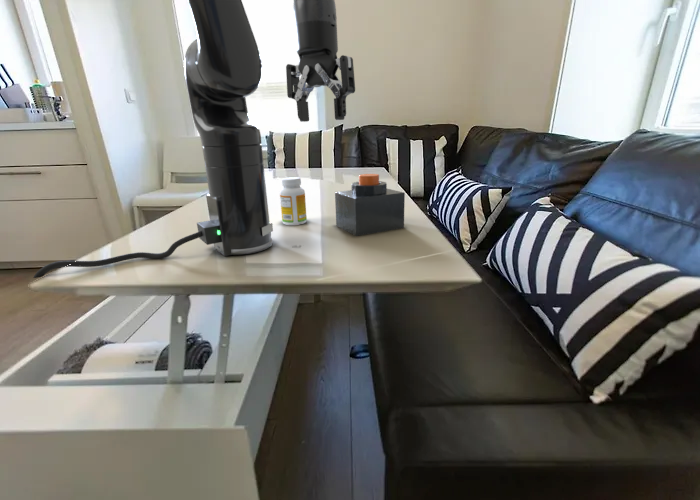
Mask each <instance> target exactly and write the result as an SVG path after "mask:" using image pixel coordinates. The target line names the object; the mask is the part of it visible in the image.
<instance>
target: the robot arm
mask: <svg viewBox="0 0 700 500" xmlns="http://www.w3.org/2000/svg"><path fill="white" fill-rule="evenodd" d="M187 2H188V5H189V9H190V12H191V15H192V20H193V23H194V26H195V31H196V37H197V38H196V39H195V40H193V41H192V42H191V43H190V44H189V45H188V47H187V49H186V51H185V55H184V60H183V62H184V66H183V67H184V77H185V82H186V83H185V84H186V89H187V94H188V98H189V105H190V109H191V114H192V120H193V124H194V127H195V128H196V131H197V132H198V134H199V137H200V144H201V146H202V147H201V148H202V154H203V155H202V156H203V162H204V168H205V174H206V180H207V187H208V193H207V194H206V195H205V198H206V204H207V211H208V216H209V220H204V221H199V222H196V227H197V232H195V233H192V234H189V235H186V236H184V237H181V238H179V239H177V240H175V242H173V243H172V244H171V245H170V246H169V248H168V249H167V250H166V251H163V252H159V253H155V252H147V251H145V252H143V251H142V252H140V251H139V252H131V253H126V254H121V255H117V256H112V257H107V258H104V259H103V258H102V259H98V260H59V261H54V262H50V263H48V264H46V265H43V267H41V268H40V269H39V270H37V271H36V273H35V274H34V275H33V279H37V278H42V277H44V276H45V275H46V274H47V273H49V272H50V271H52V270H55V269H58V268H67V267H68V268H72V267H73V268H75V267H76V268H94V267H96V268H97V267H102V266H107V265H111V264H116V263H120V262H125V261H128V260H135V259H152V260H160V259H165V258H168V257H170V256H171V255H172V254H173V253H174V252H175V251H176V250H177V248H179V247H180V246H182V245H184V244H186V243H189V242H191V241H194V240H197V239H200V240H201V241H202V242H203V243H204V244H205V245H207V246H209V245H213V248H214V249H215V250H217V252H218V253H220V254H221V255H222V256H224V257H228V256H234V255H236V256H237V255H238V256H240V255H249V254H255V253H259V252H262V251H264V250H267V249H269V248H270V247H271V246H273V237H272V232H273V231H274V226H273V222H270V214H269V204H268V203H269V202H268V193H267V183H266V175H265V165H264V156H263V155H264V153H263V146H262V143H263V142H262V135H261V129H260V128H259V126H258V125H257V124H255V123H254V122H253V120H252V119H251V117H250V114H249V111H248V104H247V99H246V97H248V96H251V95H252V94H254V93H255V92H256V91H257V90H258V88H259V86H260V84H261V82H262V77H263V64H262V63H263V62H262V57H261V53H260V49H259V46H258V43H257V40H256V37H255V34H254V31H253V29H252V27H251V23H250V21H249V17H248V15H247V12H246V9H245V6H244V3H243V0H187ZM292 7H293V23H294V32H295V33H294V34H295V36H294V37H295V46H296V47H295V48H296V52H297V55H298V57H299V60H298V64H291V63H287V64H286V66H285V73H286V94H287V98H289V99H292V100H294V101H295V102H296V108H297V109H296V110H297V118H298V120H299V122H303V123H307V122H309V121H310V113H309V112H310V111H309V101H308V98H309V96H310V94H311V93H312V92H314V89H315V88H321V87H327V88H328V89H330V91H331V92H332V94H333V95H334V98H333V109H334V119H335V120H336V121H343V120H345V117H346V116H347V101H346V100H347V97H348V96H349V95H351V94H354V93H355V92H356V82H355V81H356V80H355V67H354V59H353V57H351V56H349V55H344V54H342V55H340V57H338V54H337V53H338V51H339V45H338V44H339V43H338V42H339V41H338V25H337V21H338V20H337V5H336V1H335V0H293V5H292ZM338 69H339V71H340V76H341V77H340V78H341V79H340V78H339V76H338V75H337V72H338ZM75 261H76V262H75ZM69 264H71V265H69ZM67 265H68V266H67ZM65 266H66V267H65Z"/></svg>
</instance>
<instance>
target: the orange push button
mask: <svg viewBox="0 0 700 500" xmlns="http://www.w3.org/2000/svg"><path fill="white" fill-rule="evenodd" d="M379 181H380V174H378V173H361V174H359V175H358V182H359V185H376V184H379Z"/></svg>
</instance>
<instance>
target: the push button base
mask: <svg viewBox="0 0 700 500" xmlns="http://www.w3.org/2000/svg"><path fill="white" fill-rule="evenodd" d="M387 185H388V184H387V182H386V181H381V180H379V184H376V185H359V181H354V182H351V190H350V189H349V190H340V191H334V199H335V201H334V203H335V226H336V227H338V228H340V229H342V230H344V231H345V232H347V233H349V234H351V235H353V236H356V237H358V236H359V237H361V236H364V235H370V234H377V233H382V232H388V231H393V230H395V231H396V230H399V229H405V204H406V203H405V198H406V197H405V192H404V191H399V190H395V189H391V188H387Z"/></svg>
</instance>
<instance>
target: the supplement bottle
mask: <svg viewBox="0 0 700 500" xmlns="http://www.w3.org/2000/svg"><path fill="white" fill-rule="evenodd" d="M281 185H282V186H283V187H282V188H281V189H280V191H279V200H280V211H281V221H282V224H283V225H286V226H298V225H299V226H300V225H303V224H305V223H307V221H308V220H307V219H308V218H307V203H306V191H305V189H304V188H303V187H301V185H302V178H301V177H299V176H298V177H297V176H293V177H292V176H291V177H289V176H288V177H283V178H281Z"/></svg>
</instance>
